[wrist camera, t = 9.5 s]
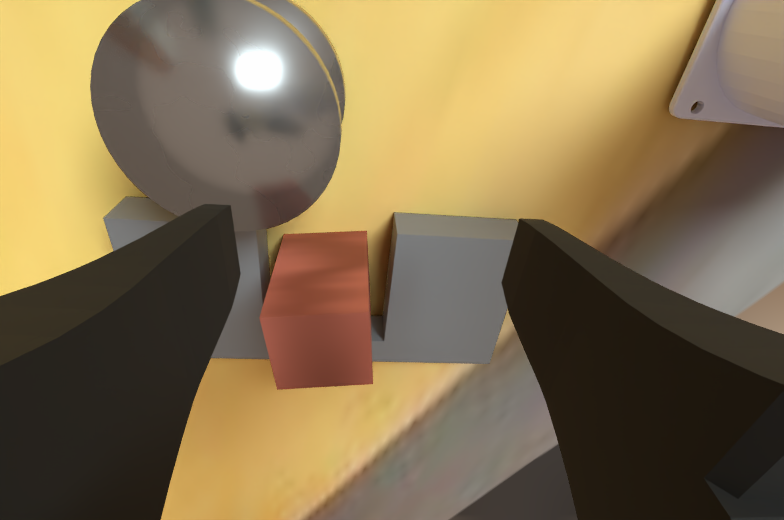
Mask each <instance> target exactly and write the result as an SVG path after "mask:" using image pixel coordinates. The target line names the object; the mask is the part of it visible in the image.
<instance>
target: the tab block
mask: <svg viewBox="0 0 784 520" xmlns="http://www.w3.org/2000/svg"><path fill="white" fill-rule="evenodd" d="M259 318H260V322H261V326H262V330H263V334H264V338H265V342H266V346H267V350H268V354H269V358H270V362H271V366H272V370H273V374H274V378H275V382H276V386H277V389H295V388H312V387H329V386H347V385H364V384H373V370H372V337H371V305H370V282H369V263H368V244H367V231H351V232H327V233H304V234H284V235H283V239H282V242H281V246H280V249H279V253H278V256H277V259H276V263H275V266H274V270H273V273H272V276H271V280H270V283H269V287H268V290H267V293H266V297H265V300H264V304H263V307H262V310H261V314H260V317H259Z"/></svg>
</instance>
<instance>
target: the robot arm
mask: <svg viewBox="0 0 784 520" xmlns="http://www.w3.org/2000/svg"><path fill="white" fill-rule="evenodd" d="M697 101H698V104H697V106H696V108H695V109H694V110H692V111H691V107H692V106H693V104H694V103H696V102H697ZM669 112H670V114H671V115H673V116H675V117H677V118H681V119H692V120H703V121H714V122H725V123H736V124H747V125H758V126H770V127H781V128H784V0H716V2H715V4H714V6H713V9H712V11H711V13H710V15H709V18H708V20H707V22H706V24H705V26H704V29H703V31H702V33H701V35H700V38H699V40H698V42H697V44H696V47H695V49H694V51H693V53H692V55H691V58H690V60H689V62H688V64H687V67H686V69H685V71H684V73H683V76H682V78H681V80H680V82H679V84H678V87H677V89H676V91H675V93H674V96H673V98H672V100H671V102H670V105H669ZM240 275H241V272H240V265H239V259H238V252H237V245H236V238H235V231H234V224H233V217H232V210H231V205H217V204H203V205H201V206H198V207H196V208H194V209H192V210H190V211H188V212H186V213H184V214H183V215H181V216H179V217H177V218H175V219H174V220H172V221H170V222H168V223H166V224H165V225H163V226H161V227H159V228H157V229H156V230H154V231H152V232H150V233H148V234H146V235H145V236H143V237H141V238H139V239H137V240H135V241H133V242H131V243H129V244H127V245H125V246H123V247H121V248H119V249H117V250H115V251H113V252H111V253H109V254H107V255H105V256H103V257H101V258H99V259H97V260H95V261H92V262H90V263H88V264H86V265H83V266H81V267H79V268H76V269H74V270H72V271H69V272H67V273H64V274H61V275H59V276H56V277H54V278H51V279H49V280H46V281H44V282H41V283H38V284H36V285H33V286H29V287H26V288H23V289H20V290H17V291H14V292H11V293H8V294H5V295H2V296H0V520H161V516H162V512H163V508H164V504H165V500H166V496H167V492H168V488H169V484H170V480H171V477H172V473H173V469H174V466H175V462H176V458H177V455H178V451H179V448H180V444H181V440H182V437H183V434H184V430H185V427H186V424H187V420H188V417H189V414H190V410H191V407H192V404H193V401H194V398H195V395H196V392H197V390H198V387H199V384H200V382H201V379H202V377H203V375H204V372H205V370H206V368H207V366H208V363H209V361H210V359H211V356H212V354H213V352H214V349H215V347H216V345H217V342H218V340H219V338H220V335H221V333H222V331H223V328H224V326H225V324H226V321H227V319H228V316H229V314H230V311H231V309H232V306H233V303H234V299H235V295H236V292H237V287H238V283H239V279H240ZM501 283H502V287H503V291H504V296H505V300H506V304H507V307H508V311H509V314H510V317H511V319H512V322H513V324H514V327H515V329H516V331H517V334H518V336H519V338H520V341H521V343H522V345H523V348H524V350H525V352H526V355H527V357H528V359H529V362H530V364H531V366H532V368H533V371H534V373H535V375H536V378H537V380H538V382H539V385H540V387H541V390H542V392H543V395H544V398H545V400H546V403H547V407H548V410H549V413H550V416H551V420H552V423H553V426H554V430H555V433H556V436H557V440H558V443H559V446H560V451H561V454H562V458H563V462H564V465H565V469H566V472H567V476H568V480H569V484H570V488H571V493H572V497H573V500H574V505H575V509H576V513H577V518H578V520H784V334H781V333H778V332H775V331H772V330H769V329H766V328H763V327H760V326H757V325H755V324H752V323H749V322H746V321H744V320H741V319H739V318H736V317H733V316H731V315H728V314H725V313H723V312H720V311H717V310H715V309H713V308H710V307H708V306H705V305H703V304H700V303H698V302H696V301H694V300H691V299H689V298H687V297H685V296H683V295H680V294H678V293H676V292H674V291H672V290H669V289H667V288H665V287H663V286H661V285H659V284H657V283H655V282H653V281H651V280H649V279H647V278H645V277H643V276H642V275H640V274H638V273H636V272H634V271H632V270H630V269H629V268H627V267H625V266H623V265H621V264H620V263H618V262H616V261H614V260H613V259H611V258H609V257H608V256H606V255H604V254H602V253H601V252H599V251H597V250H596V249H594V248H592V247H591V246H589V245H587V244H586V243H584V242H582V241H581V240H579V239H577V238H576V237H574V236H572V235H571V234H569V233H567V232H566V231H564V230H562V229H560V228H559V227H557V226H555V225H553V224H551V223H549V222H547V221H544V220H537V219H519V222H518V226H517V229H516V233H515V236H514V240H513V243H512V247H511V250H510V254H509V257H508V261H507V264H506V268H505V271H504V275H503V279H502V282H501Z"/></svg>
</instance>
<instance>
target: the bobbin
mask: <svg viewBox="0 0 784 520" xmlns="http://www.w3.org/2000/svg"><path fill="white" fill-rule="evenodd" d="M90 88H91V101H92V107H93V111H94V116H95V120H96V123H97V126H98V129H99V131H100V134H101V137H102V139H103V141H104V143H105V145H106V147H107V149H108V151H109V152H110V154H111V155H112V157H113V159H114V160H115V162H116V163H117V165H118V166H119V167H120V169H121V170H122V171H123V172H124V174H125V175H126V176H127V177H128V178H129V179H130V180H131V181H132V183H133V184H134V185H135V186H136V187H137V188H138V189H139V190H141V191H142V192H143V193H144V194H145V195H146V196H148V197H149V198H150V199H151V200H153V201H154V202H156V203H157V204H158V205H160V206H161V207H163V208H164V209H166V210H168V211H170V212H171V213H173V214H175V215H177V216H181V215H183V214H184V213H186V212H188V211H190V210H192V209H194V208H196V207H198V206H201V205H203V204H217V205H231V210H232V217H233V224H234V231H256V230H263V229H267V228H271V227H275V226H278V225H280V224H283V223H286V222H288V221H289V220H291V219H293V218H295V217H297V216H298V215H300V214H301V213H303V212H304V211H305V210H307V209H308V208H309V207H310V206H311V205H312V204H313V203H314V202H315V201H316V200H317V199H318V198H319V197H320V195H321V194H322V193H323V191H324V190H325V188H326V187H327V185H328V183H329V181H330V180H331V178H332V175H333V173H334V170H335V168H336V164H337V160H338V156H339V151H340V142H341V132H342V126H341V124H342V120H343V115H344V106H345V83H344V76H343V72H342V68H341V64H340V61H339V59H338V56H337V54H336V51H335V49H334V47H333V45H332V44H331V42H330V40H329V38H328V37H327V35H326V34H325V32H324V31H323V30H322V28H321V27H320V26H319V24H318V23H317V22H316V21H315V20H314V19H313V18H312V17H311V16H310V15H309V14H308V13H307V12H306V11H305V10H303V9H302V8H301V7H300V6H298V5H297V4H295V3H294V2H292V1H291V0H141V1H139V2H137V3H135V4H133V5H132V6H131V7H129V8H128V9H126V10H125V11H124V12H122V13H121V14H120V15H119V16H118V17H117V18H116V20H115V21H114V22H113V23H112V24H111V25H110V26H109V28H108V29H107V31H106V32H105V34H104V36H103V37H102V39H101V41H100V43H99V46H98V48H97V51H96V53H95V57H94V61H93V65H92V70H91V84H90Z"/></svg>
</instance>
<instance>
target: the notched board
mask: <svg viewBox="0 0 784 520" xmlns="http://www.w3.org/2000/svg"><path fill="white" fill-rule="evenodd" d="M177 217H179V216H177V215H175V214H173V213H171V212H170V211H168V210H166V209H164V208H163V207H161V206H160V205H158V204H157V203H156V202H154V201H153V200H151V199H150V198H143V197H125V198H124V199H123V200H122V201H121V202H120V203H119V204H117V205H116V206H115V207H114V208H113V209H112V210H111V211H110V212H109V213H108V214H107V215H106V216H105V217H104V218H103V219H104V222H105V225H106V228H107V231H108V235H109V238H110V241H111V244H112V247H113V250H114V251H115V250H117V249H119V248H121V247H123V246H125V245H127V244H129V243H131V242H133V241H135V240H137V239H139V238H141V237H143V236H145V235H146V234H148V233H150V232H152V231H154V230H156V229H157V228H159V227H161V226H163V225H165V224H166V223H168V222H170V221H172V220H174V219H175V218H177ZM517 226H518V222H517V220H513V219H496V218H479V217H462V216H446V215H429V214H412V213H395V212H394V220H393V228H392V237H391V246H390V254H389V263H388V272H387V281H386V289H385V298H384V307H383V315H382V316H373V315H371V337H372V361H378V362H425V363H473V364H489V363H490V360H491V357H492V354H493V351H494V348H495V345H496V342H497V339H498V336H499V333H500V330H501V327H502V324H503V321H504V318H505V315H506V311H507V308H508V307H507V304H506V300H505V296H504V291H503V287H502V283H501V282H502V279H503V275H504V271H505V268H506V264H507V261H508V257H509V254H510V250H511V247H512V243H513V240H514V236H515V233H516V229H517ZM235 238H236V245H237V252H238V259H239V265H240V272H241V275H240V279H239V283H238V287H237V292H236V295H235V299H234V303H233V306H232V309H231V311H230V314H229V316H228V319H227V321H226V324H225V326H224V328H223V331H222V333H221V335H220V338H219V340H218V342H217V345H216V347H215V349H214V352H213V354H212V356H211V358H236V359H270V358H269V354H268V350H267V346H266V342H265V338H264V334H263V330H262V326H261V322H260V318H259V317H260V314H261V310H262V307H263V304H264V300H265V297H266V293H267V290H268V287H269V283H270V270H269V257H268V244H267V231H266V229H263V230H256V231H235Z"/></svg>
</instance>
